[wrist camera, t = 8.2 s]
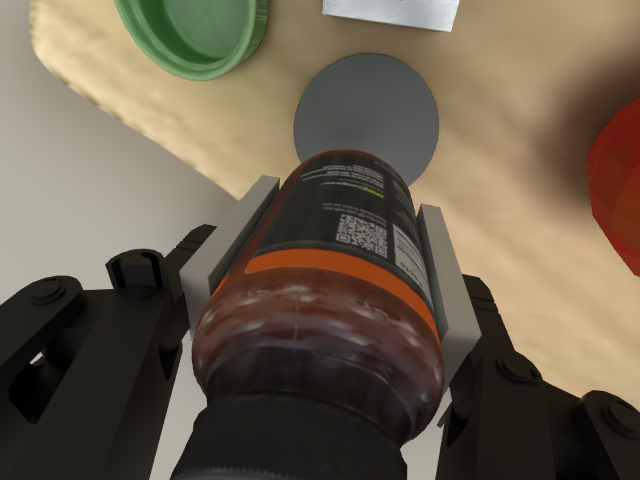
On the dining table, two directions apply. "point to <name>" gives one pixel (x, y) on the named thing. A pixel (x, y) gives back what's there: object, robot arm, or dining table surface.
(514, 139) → the dining table surface
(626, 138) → the apple
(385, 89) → the coaster
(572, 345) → the dining table surface
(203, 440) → the supplement bottle
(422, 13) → the vise
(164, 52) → the ramekin
